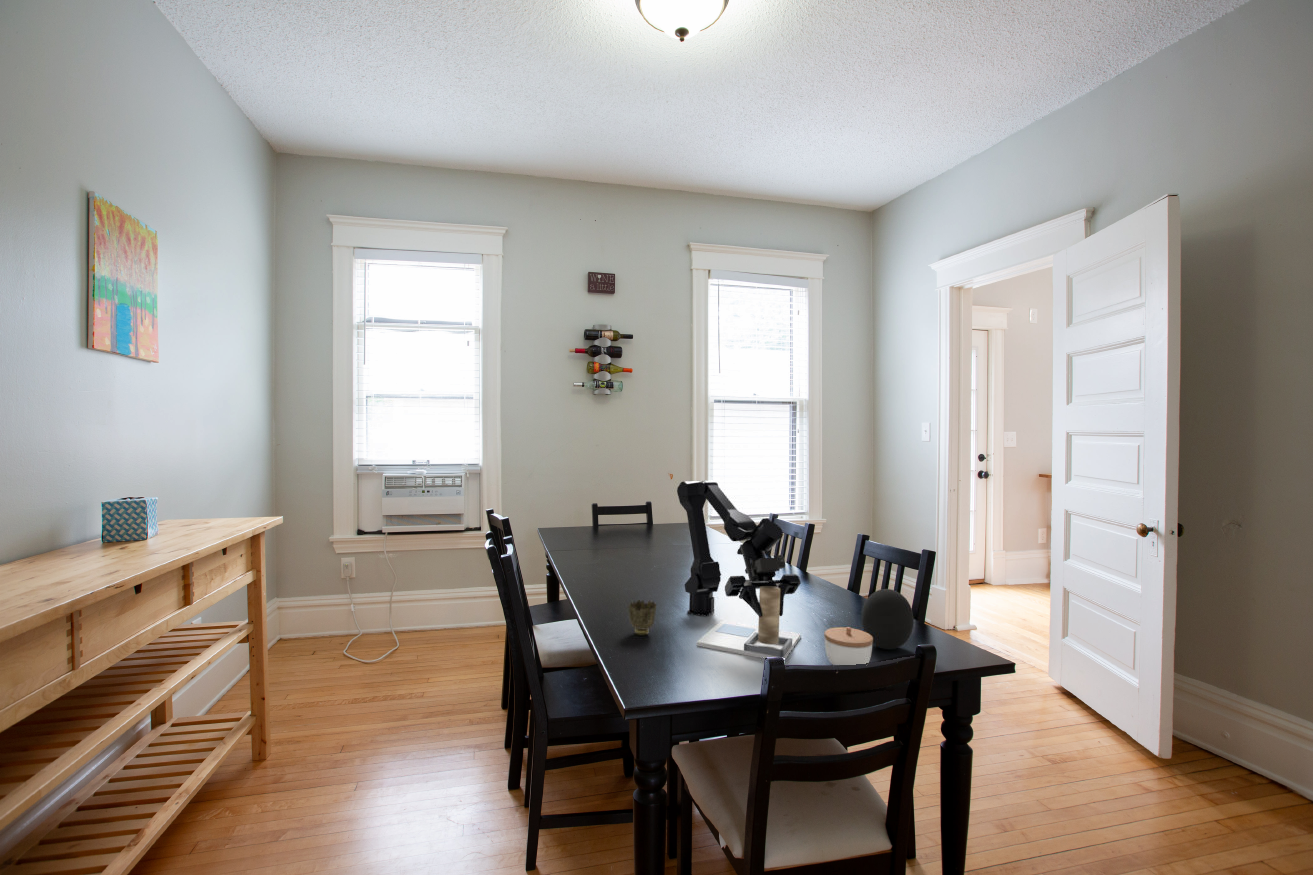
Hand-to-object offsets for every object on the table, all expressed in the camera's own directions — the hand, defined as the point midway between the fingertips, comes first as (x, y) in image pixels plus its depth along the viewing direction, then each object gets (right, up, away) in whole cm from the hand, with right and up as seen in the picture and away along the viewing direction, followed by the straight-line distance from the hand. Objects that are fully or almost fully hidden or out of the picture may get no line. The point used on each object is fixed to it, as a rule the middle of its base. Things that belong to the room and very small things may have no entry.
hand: (771, 615), depth 148 cm
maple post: (0, -7, +1) cm, 7 cm away
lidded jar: (+16, -10, -8) cm, 21 cm away
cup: (-32, -8, +12) cm, 35 cm away
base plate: (-4, -9, +8) cm, 13 cm away
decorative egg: (+30, -10, +6) cm, 32 cm away
